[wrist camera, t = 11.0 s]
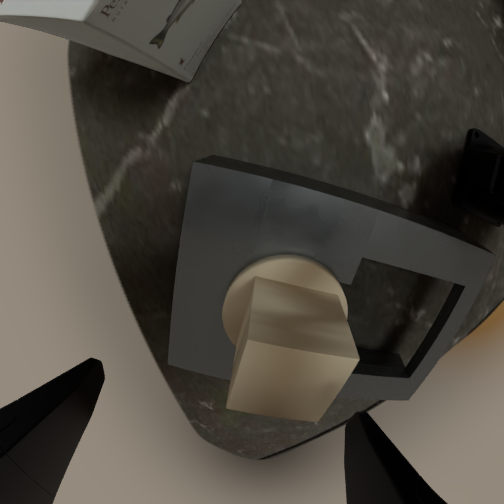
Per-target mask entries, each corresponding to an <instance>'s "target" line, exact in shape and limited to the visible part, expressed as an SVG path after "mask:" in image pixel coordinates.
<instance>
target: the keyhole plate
mask: <svg viewBox="0 0 504 504" xmlns="http://www.w3.org/2000/svg"><path fill="white" fill-rule="evenodd" d="M285 254H288V255H298V256H304V257H307V258H310V259H313V260H315V261H317V262H319V263H321V264H322V265H324V266H325V267H326V268H328V269H329V270H330V271H331V272H332V273H333V274H334V276H335V277H336V278H337V280H338V281H339V282H340V283H345V284H349V285H351V284H352V281H353V279H354V276H355V274H356V272H357V269H358V267H359V264H360V262H361V259H362V257H363V258H366V259H370V260H374V261H378V262H381V263H385V264H389V265H392V266H396V267H400V268H403V269H407V270H410V271H414V272H418V273H421V274H425V275H428V276H432V277H435V278H439V279H442V280H446V281H449V282H453V283H455V284H454V286H453V288H452V290H451V292H450V294H449V296H448V298H447V300H446V302H445V303H444V305H443V307H442V309H441V311H440V313H439V315H438V316H437V318H436V320H435V322H434V323H433V325H432V327H431V328H430V330H429V332H428V334H427V335H426V337H425V338H424V340H423V342H422V343H421V345H420V346H419V348H418V350H417V351H416V353H415V354H414V356H413V357H412V359H411V360H410V362H409V363H408V365H407V366H406V368H405V366H404V364H403V361H402V359H401V357H400V355H399V354H397V353H388V352H380V351H373V350H365V349H358V348H356V349H357V352H358V355H359V358H360V360H359V362H358V363H357V365H356V367H355V368H354V370H353V371H352V373H351V374H350V376H349V378H348V379H347V381H346V382H345V384H344V385H343V387H342V388H341V390H340V391H339V393H338V394H337V396H336V397H343V398H356V399H373V400H409V398H410V397H411V396H412V395H413V394H414V392H415V391H416V390H417V389H418V387H419V386H420V385H421V383H422V382H423V381H424V380H425V378H426V377H427V376H428V374H429V373H430V372H431V370H432V369H433V367H434V366H435V365H436V363H437V362H438V360H439V359H440V357H441V356H442V354H443V353H444V352H445V350H446V349H447V347H448V345H449V344H450V342H451V341H452V339H453V338H454V336H455V334H456V333H457V331H458V329H459V328H460V326H461V324H462V323H463V321H464V319H465V318H466V316H467V314H468V312H469V310H470V309H471V307H472V305H473V303H474V301H475V299H476V297H477V295H478V294H479V292H480V290H481V288H482V285H483V283H484V281H485V279H486V277H487V275H488V273H489V271H490V268H491V266H492V264H493V262H494V259H495V257H496V255H495V254H493V253H492V252H491V251H489V250H488V249H486V248H485V247H484V246H482V245H481V244H479V243H478V242H476V241H475V240H473V239H472V238H470V237H469V236H467V235H466V234H464V233H463V232H461V231H459V230H457V229H455V228H452V227H450V226H447V225H445V224H443V223H440V222H438V221H435V220H433V219H430V218H428V217H425V216H422V215H420V214H417V213H415V212H412V211H409V210H407V209H404V208H401V207H398V206H396V205H393V204H390V203H387V202H384V201H381V200H378V199H375V198H372V197H369V196H366V195H363V194H360V193H357V192H354V191H351V190H348V189H345V188H341V187H338V186H335V185H331V184H328V183H325V182H321V181H318V180H314V179H311V178H307V177H304V176H300V175H296V174H292V173H289V172H285V171H281V170H277V169H273V168H269V167H265V166H261V165H257V164H252V163H248V162H244V161H239V160H235V159H230V158H225V157H220V156H215V155H212V156H209V157H206V158H203V159H200V160H197V161H194V162H193V166H192V171H191V176H190V182H189V187H188V193H187V199H186V205H185V211H184V218H183V224H182V231H181V238H180V245H179V252H178V260H177V268H176V276H175V285H174V294H173V303H172V314H171V325H170V337H169V351H168V365H172V366H175V367H179V368H182V369H186V370H190V371H193V372H197V373H201V374H205V375H209V376H213V377H217V378H222V379H226V380H231V375H232V369H233V364H234V358H235V352H236V346H235V345H234V344H233V343H232V341H231V340H230V339H229V337H228V335H227V333H226V331H225V328H224V325H223V320H222V311H223V305H224V301H225V298H226V294H227V291H228V289H229V286H230V284H231V283H232V281H233V280H234V278H235V277H236V276H237V275H238V274H239V273H240V272H241V271H242V270H243V269H244V268H246V267H247V266H249V265H250V264H251V262H256V261H258V260H260V259H263V258H266V257H269V256H275V255H285Z"/></svg>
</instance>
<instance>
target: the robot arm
mask: <svg viewBox="0 0 504 504" xmlns="http://www.w3.org/2000/svg"><path fill="white" fill-rule="evenodd" d="M475 133H476V137H475ZM458 198H459V201H458V202H457V199H458ZM452 202H453V204H454V205H455V206H457V207H460V208H462V209H464V210H466V211H468V212H470V213H472V214H474V215H476V216H478V217H480V218H482V219H484V220H485V221H487V222H489V223H491V224H493V225H495V226H497V227H500V226H501V224H503V225H504V148H503V147H502V146H501V145H500V144H498V143H497V142H495V141H494V140H493V139H491V138H490V137H489V136H487V135H486V134H484V133H483V132H481V131H480V130H478V129H475V128H473V129H471V130H470V133H469V138H468V142H467V147H466V150H465V155H464V159H463V162H462V166H461V170H460V174H459V178H458V181H457V185H456V188H455V191H454V194H453V198H452ZM104 380H105V375H104V370H103V365H102V362H101V361H100V360H97V359H94V358H89V359H87V360H86V361H84V362H82V363H80V364H79V365H77V366H75V367H73V368H72V369H70V370H69V371H67V372H65V373H63V374H61V375H60V376H58V377H56V378H54V379H53V380H51V381H49V382H47V383H46V384H44V385H42V386H41V387H39V388H37V389H35V390H33V391H32V392H30V393H28V394H26V395H25V396H23V397H21V398H19V399H18V400H16V401H14V402H12V403H10V404H8V405H6V406H4V407H3V408H1V409H0V504H52V503H53V501H54V498H55V496H56V493H57V491H58V488H59V486H60V484H61V481H62V479H63V477H64V474H65V472H66V470H67V467H68V465H69V463H70V461H71V458H72V456H73V454H74V452H75V449H76V447H77V445H78V443H79V441H80V439H81V437H82V435H83V433H84V431H85V428H86V427H87V424H88V422H89V420H90V418H91V416H92V413H93V411H94V408H95V405H96V402H97V400H98V396H99V394H100V391H101V388H102V386H103V383H104ZM344 453H345V454H344V467H345V468H344V469H345V481H346V498H347V504H447V503H446V502H445V501H444V500H443V499H442V498H441V497H440V496H438V494H437V493H436V492H435V491H434V490H433V489H431V487H430V486H429V485H428V484H427V483H426V482H425V481H424V479H423V478H422V477H421V476H420V475H419V474H418V473H417V471H416V470H415V469H414V468H413V467H412V465H411V464H410V463H409V462H408V461H407V459H406V458H405V457H404V456H403V455H402V454H401V452H400V451H399V450H398V449H397V448H396V446H395V445H394V444H393V443H392V442H391V440H390V439H389V438H388V437H387V436H386V434H385V433H384V432H383V431H382V430H381V428H380V427H379V426H378V425H377V424H376V422H375V421H374V420H373V419H372V418H371V416H370V415H369V414H368V413H367V412H356V413H354V415H353V416H352V417H351V419H350V420H349V421H348V422H347V424H346V427H345V452H344Z"/></svg>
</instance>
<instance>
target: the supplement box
mask: <svg viewBox="0 0 504 504" xmlns="http://www.w3.org/2000/svg"><path fill="white" fill-rule="evenodd" d="M241 3H242V1H241V0H0V22H5V23H10V24H14V25H19V26H23V27H27V28H31V29H35V30H39V31H42V32H46V33H49V34H52V35H56V36H59V37H62V38H65V39H68V40H71V41H74V42H77V43H80V44H83V45H86V46H89V47H91V48H94V49H97V50H99V51H102V52H104V53H107V54H110V55H112V56H115V57H118V58H121V59H124V60H127V61H130V62H133V63H136V64H139V65H142V66H144V67H147V68H150V69H153V70H156V71H159V72H161V73H164V74H167V75H170V76H172V77H175V78H177V79H180V80H183V81H185V82H191V81H192V79H193V77H194V75H195V73H196V71H197V69H198V67H199V65H200V63H201V61H202V60H203V58H204V56H205V54H206V53H207V51H208V49H209V48H210V46H211V45H212V43H213V41H214V40H215V38H216V37H217V35H218V34H219V32H220V31H221V30H222V28H223V27H224V25H225V24H226V22H227V21H228V20H229V18H230V17H231V16H232V14H233V13H234V12H235V10H236V9H237V8H238V7H239V6H240V4H241Z"/></svg>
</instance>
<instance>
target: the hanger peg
mask: <svg viewBox="0 0 504 504" xmlns="http://www.w3.org/2000/svg"><path fill="white" fill-rule="evenodd" d="M347 316H348V306H347V301H346V298H345V295H344V293H343V290H342V288H341V285H340V283H339V281H338V280H337V278H336V277H335V276H334V274H333V273H332V272H331V271H330V270H329V269H328V268H326V267H325V266H324V265H322V264H321V263H319V262H317V261H315V260H313V259H310V258H307V257H304V256H298V255H288V254H285V255H275V256H269V257H266V258H263V259H260V260H258V261H256V262H251V264H250V265H249V266H247V267H246V268H244V269H243V270H242V271H241V272H240V273H239V274H238V275H237V276H236V277H235V278H234V280H233V281H232V283H231V284H230V286H229V289H228V291H227V294H226V298H225V301H224V305H223V311H222V320H223V325H224V328H225V331H226V333H227V335H228V337H229V339H230V340H231V341H232V343H233V344H234V345H235V346H236V352H235V358H234V364H233V369H232V375H231V381H230V387H229V393H228V399H227V405H226V408H227V409H232V410H237V411H242V412H247V413H253V414H259V415H265V416H272V417H278V418H286V419H294V420H303V421H313V422H318V421H319V420H320V418H321V417H322V416H323V414H324V413H325V411H326V410H327V409H328V407H329V406H330V404H331V403H332V402H333V400H334V399H335V397H336V396H337V394H338V393H339V391H340V390H341V388H342V387H343V385H344V384H345V382H346V381H347V379H348V378H349V376H350V374H351V373H352V371H353V370H354V368H355V367H356V365H357V363H358V362H359V360H360V358H359V355H358V352H357V349H356V346H355V343H354V340H353V337H352V334H351V331H350V328H349V325H348V322H347Z"/></svg>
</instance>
